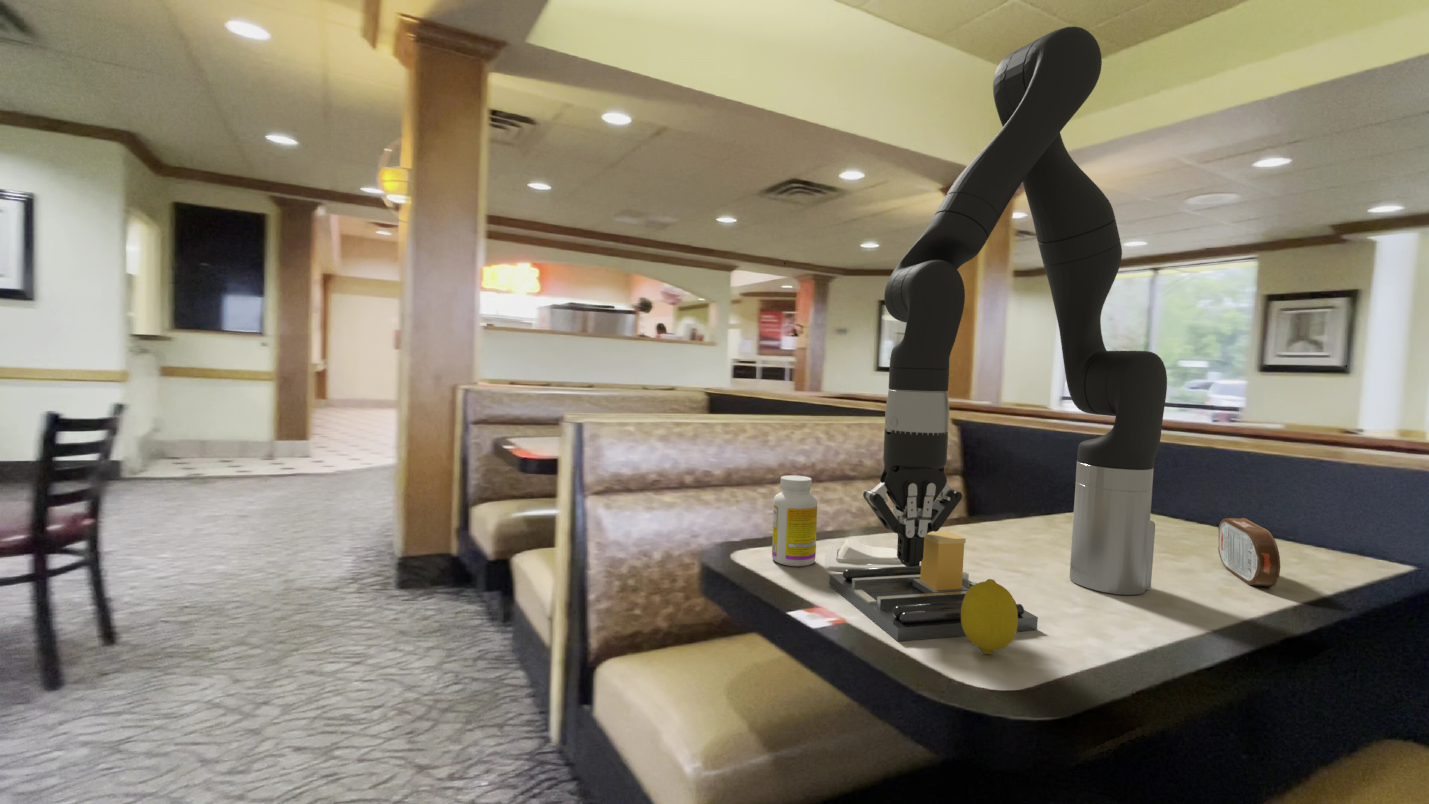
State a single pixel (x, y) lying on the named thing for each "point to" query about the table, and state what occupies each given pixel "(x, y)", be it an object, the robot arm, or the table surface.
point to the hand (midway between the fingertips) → (909, 564)
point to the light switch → (860, 557)
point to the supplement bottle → (794, 522)
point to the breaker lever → (941, 563)
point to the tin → (1249, 552)
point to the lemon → (989, 616)
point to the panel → (909, 603)
